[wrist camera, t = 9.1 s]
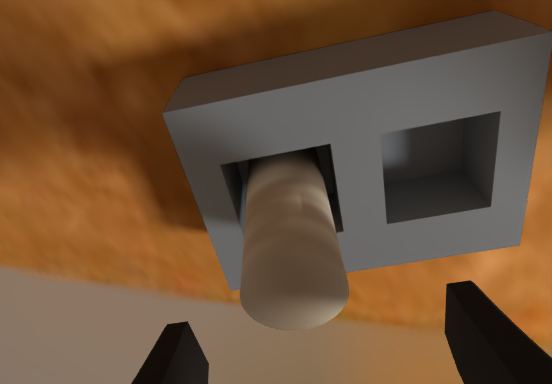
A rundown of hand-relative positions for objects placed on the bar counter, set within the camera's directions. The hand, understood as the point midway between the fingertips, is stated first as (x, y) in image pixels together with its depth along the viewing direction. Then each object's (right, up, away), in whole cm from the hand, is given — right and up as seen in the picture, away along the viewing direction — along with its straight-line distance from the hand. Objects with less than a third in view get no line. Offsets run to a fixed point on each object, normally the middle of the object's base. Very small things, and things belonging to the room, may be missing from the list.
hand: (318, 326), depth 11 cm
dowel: (-1, +5, +7) cm, 9 cm away
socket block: (+2, +6, +8) cm, 10 cm away
